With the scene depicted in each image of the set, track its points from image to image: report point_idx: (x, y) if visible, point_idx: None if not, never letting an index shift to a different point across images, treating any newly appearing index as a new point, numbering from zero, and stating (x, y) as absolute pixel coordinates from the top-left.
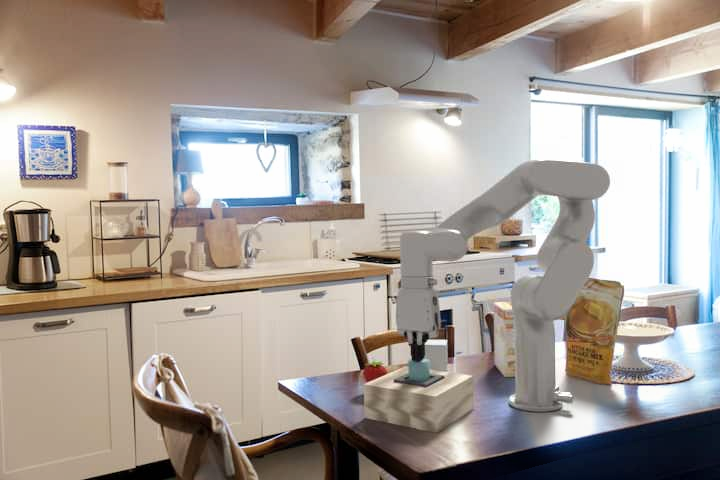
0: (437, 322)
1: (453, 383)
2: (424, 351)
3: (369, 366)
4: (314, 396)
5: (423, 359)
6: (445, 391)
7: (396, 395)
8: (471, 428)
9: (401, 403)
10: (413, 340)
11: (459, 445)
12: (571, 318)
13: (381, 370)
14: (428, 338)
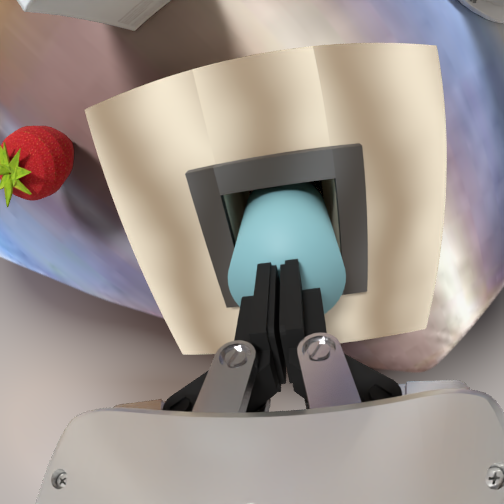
0: (480, 447)
1: (428, 192)
2: (322, 307)
3: (13, 188)
4: (32, 256)
5: (288, 247)
6: (435, 280)
7: None
8: (451, 201)
9: None
10: (268, 400)
11: (455, 288)
12: None
13: (47, 173)
14: (374, 380)
